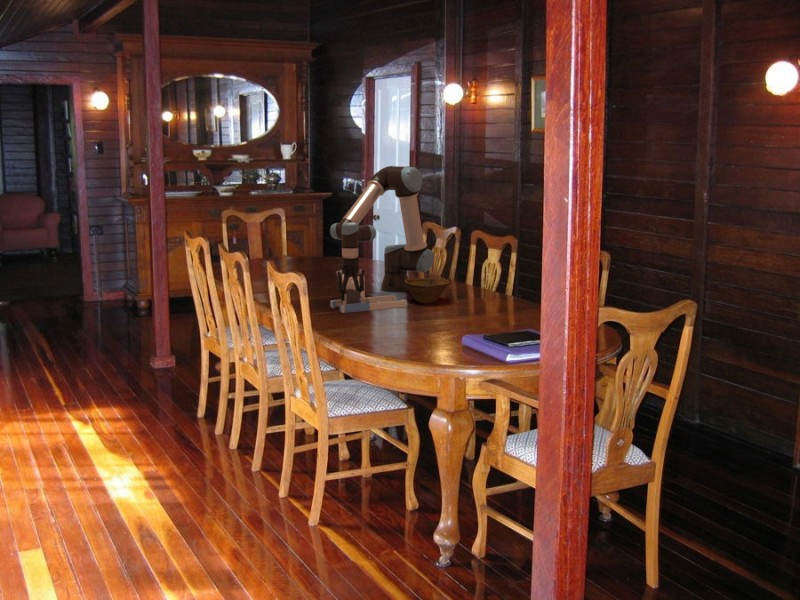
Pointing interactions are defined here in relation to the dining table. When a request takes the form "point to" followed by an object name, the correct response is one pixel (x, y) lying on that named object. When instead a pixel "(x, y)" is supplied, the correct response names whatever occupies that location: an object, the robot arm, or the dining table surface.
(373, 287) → the dining table surface
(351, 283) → the cable organizer
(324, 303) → the dining table surface
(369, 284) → the dining table surface
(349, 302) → the dark brown block
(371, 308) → the slotted rail
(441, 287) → the bowl
